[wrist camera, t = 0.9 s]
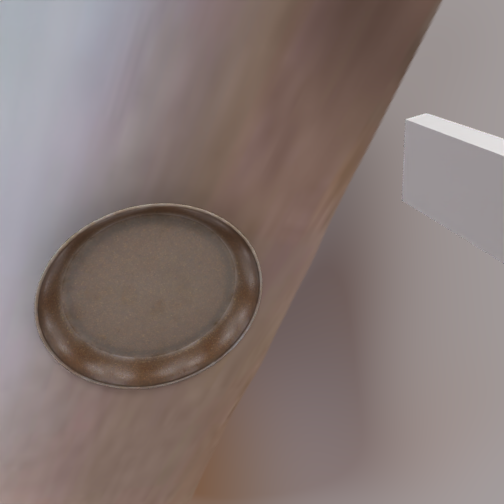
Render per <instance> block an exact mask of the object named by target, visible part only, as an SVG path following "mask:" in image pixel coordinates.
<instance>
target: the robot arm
mask: <svg viewBox="0 0 504 504" xmlns="http://www.w3.org/2000/svg"><path fill="white" fill-rule="evenodd" d="M402 201H403V202H405V203H407V204H408V205H410V206H411V207H413V208H415V209H416V210H418V211H419V212H421V213H423V214H424V215H426V216H427V217H429V218H431V219H432V220H434V221H436V222H437V223H439V224H440V225H442V226H444V227H445V228H447V229H448V230H450V231H452V232H453V233H455V234H457V235H458V236H460V237H461V238H463V239H465V240H466V241H468V242H469V243H471V244H473V245H474V246H476V247H477V248H479V249H481V250H482V251H484V252H486V253H487V254H489V255H491V256H492V257H494V258H495V259H497V260H498V261H500V262H502V263H503V264H504V139H503V138H500V137H497V136H494V135H491V134H488V133H484V132H482V131H479V130H476V129H473V128H470V127H467V126H464V125H461V124H458V123H455V122H452V121H449V120H446V119H443V118H440V117H437V116H434V115H431V114H428V113H425V114H422V115H418V116H415V117H412V118H408V119H406V120H405V140H404V163H403V186H402Z"/></svg>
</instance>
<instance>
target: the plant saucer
mask: <svg viewBox="0 0 504 504" xmlns="http://www.w3.org/2000/svg"><path fill="white" fill-rule="evenodd" d="M261 293H262V274H261V269H260V265H259V261H258V258H257V256H256V253H255V251H254V249H253V248H252V246H251V244H250V243H249V242H248V240H247V239H246V238H245V236H244V235H243V234H242V233H241V232H240V231H239V230H238V229H237V228H235V227H234V226H233V225H232V224H230V223H229V222H228V221H226V220H225V219H223V218H221V217H219V216H217V215H215V214H213V213H211V212H208V211H206V210H203V209H200V208H196V207H192V206H188V205H181V204H169V203H156V204H146V205H140V206H134V207H130V208H126V209H123V210H119V211H116V212H113V213H111V214H108V215H106V216H104V217H101V218H99V219H97V220H95V221H94V222H92V223H90V224H88V225H87V226H85V227H84V228H82V229H81V230H79V231H78V232H77V233H75V234H74V235H73V236H71V237H70V238H69V239H68V240H67V241H66V242H65V243H64V244H63V245H62V246H61V247H60V248H59V249H58V250H57V252H56V253H55V254H54V255H53V257H52V258H51V259H50V261H49V263H48V264H47V266H46V267H45V269H44V271H43V273H42V276H41V278H40V281H39V283H38V286H37V290H36V295H35V302H34V314H35V321H36V326H37V330H38V333H39V335H40V338H41V340H42V342H43V343H44V345H45V347H46V349H47V350H48V351H49V353H50V354H51V355H52V356H53V357H54V358H55V360H56V361H57V362H58V363H60V364H61V365H62V366H63V367H65V368H66V369H67V370H69V371H70V372H72V373H73V374H75V375H77V376H79V377H81V378H83V379H85V380H87V381H90V382H93V383H96V384H99V385H103V386H108V387H113V388H121V389H146V388H154V387H160V386H165V385H169V384H173V383H176V382H179V381H182V380H184V379H187V378H189V377H192V376H194V375H196V374H198V373H200V372H202V371H204V370H205V369H207V368H209V367H210V366H212V365H213V364H215V363H216V362H218V361H219V360H220V359H222V358H223V357H224V356H225V355H226V354H227V353H229V352H230V351H231V350H232V349H233V348H234V347H235V346H236V345H237V344H238V342H239V341H240V340H241V339H242V338H243V336H244V335H245V333H246V332H247V331H248V329H249V327H250V326H251V324H252V322H253V320H254V317H255V315H256V313H257V310H258V307H259V304H260V299H261Z"/></svg>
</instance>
